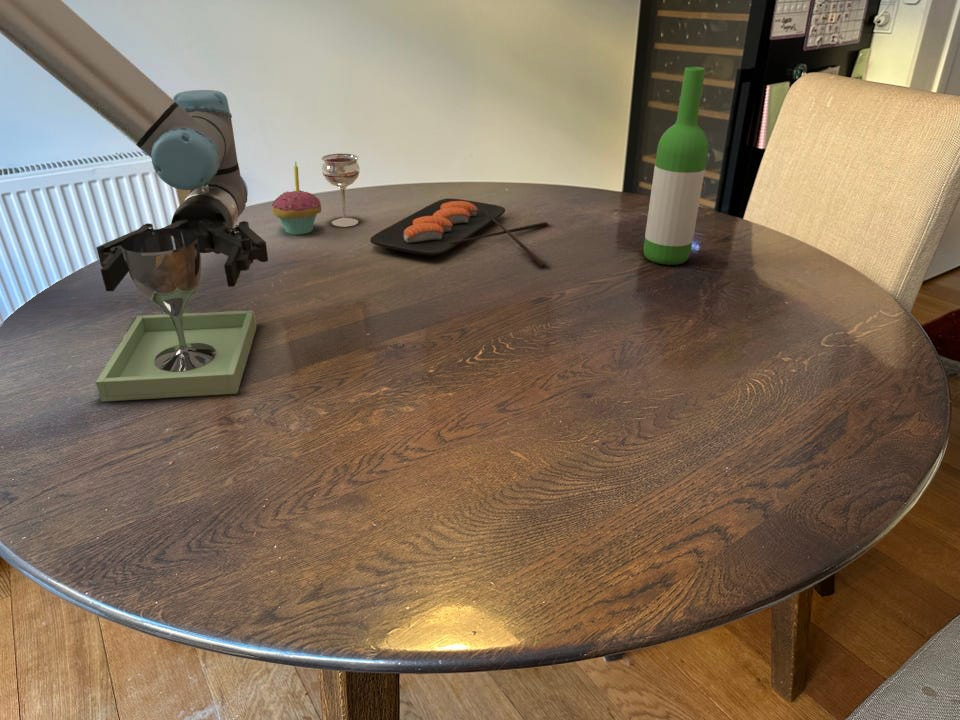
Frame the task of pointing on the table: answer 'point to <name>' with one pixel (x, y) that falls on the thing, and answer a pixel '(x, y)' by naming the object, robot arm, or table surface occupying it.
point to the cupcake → (297, 209)
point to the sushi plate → (445, 228)
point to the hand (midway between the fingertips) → (168, 278)
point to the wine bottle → (678, 179)
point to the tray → (152, 334)
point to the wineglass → (341, 178)
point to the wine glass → (169, 286)
